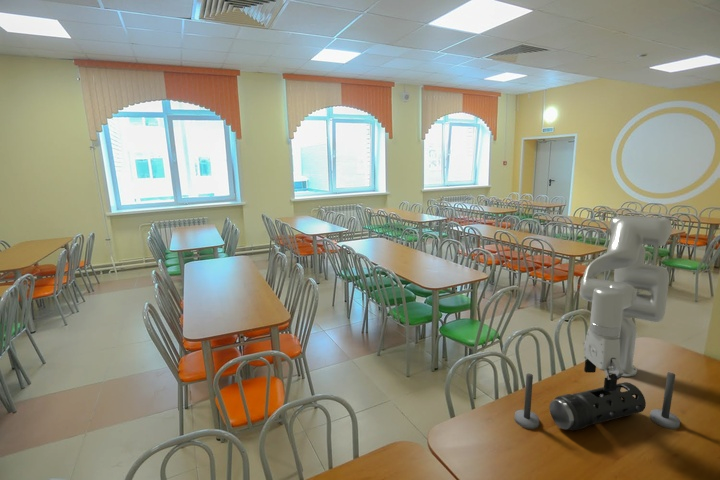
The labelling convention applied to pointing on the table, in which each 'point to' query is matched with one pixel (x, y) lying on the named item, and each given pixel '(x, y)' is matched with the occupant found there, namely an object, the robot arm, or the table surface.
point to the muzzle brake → (596, 406)
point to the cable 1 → (527, 408)
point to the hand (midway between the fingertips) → (599, 380)
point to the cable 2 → (666, 407)
